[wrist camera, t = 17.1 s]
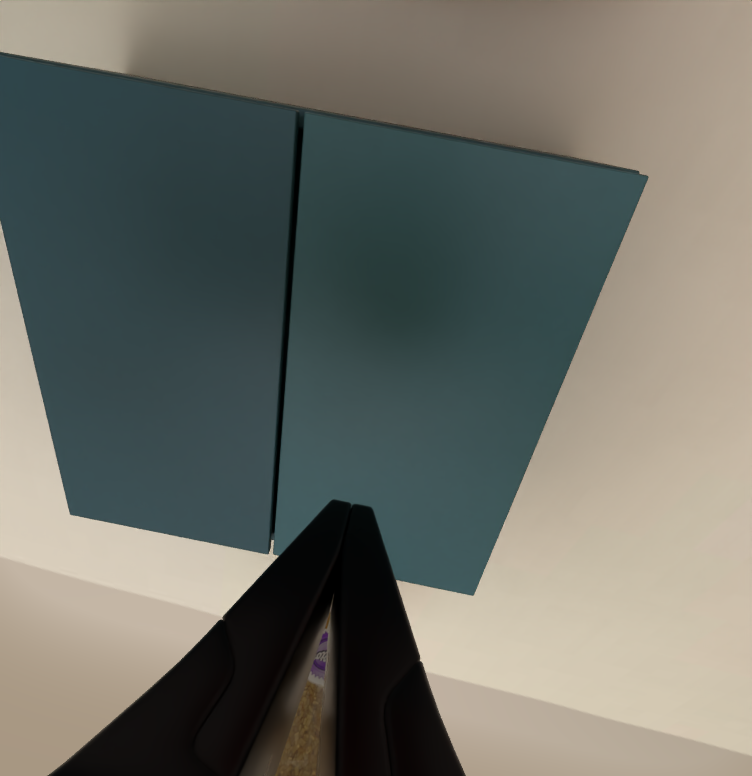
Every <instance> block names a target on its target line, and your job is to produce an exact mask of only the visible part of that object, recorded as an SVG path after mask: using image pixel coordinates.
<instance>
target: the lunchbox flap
mask: <svg viewBox="0 0 752 776" xmlns="http://www.w3.org/2000/svg"><path fill="white" fill-rule="evenodd" d="M647 180H648V176H646V175H641V174H636V173H631V172H625V171H620V170H615V169H609V168H604V167H599V166H593V165H588V164H582V163H577V162H572V161H566V160H561V159H556V158H550V157H545V156H540V155H534V154H529V153H523V152H518V151H513V150H507V149H502V148H497V147H491V146H486V145H481V144H475V143H470V142H464V141H459V140H454V139H448V138H443V137H438V136H432V135H427V134H422V133H416V132H411V131H405V130H400V129H395V128H389V127H384V126H379V125H373V124H368V123H362V122H357V121H352V120H346V119H341V118H336V117H330V116H325V115H320V114H314V113H309V112H305V114H304V128H303V142H302V156H301V170H300V184H299V198H298V212H297V226H296V240H295V254H294V268H293V282H292V296H291V310H290V324H289V338H288V352H287V366H286V380H285V394H284V408H283V422H282V436H281V450H280V464H279V478H278V492H277V506H276V520H275V534H274V548H273V554H274V555H279V556H280V554H281V553H282V552H283V551H284V550H285V549H286V548H287V547H288V546H289V545H290V544H291V543H292V542H293V541H294V539H295V538H296V537H297V536H298V535H299V534H300V533H301V532H302V531H303V530H304V529H305V528H306V527H307V525H308V524H309V523H310V522H311V521H312V520H313V519H314V518H315V517H316V516H317V515H318V514H319V513H320V511H321V510H322V509H323V508H324V507H325V506H326V505H327V504H328V503H329V502H330V501H331V500H333V499H336V500H341V501H346V502H350V503H351V507H352V505H353V504H361V505H366V506H370V507H372V509H373V510H374V513H375V517H376V520H377V523H378V526H379V529H380V532H381V535H382V539H383V542H384V545H385V548H386V551H387V554H388V557H389V560H390V564H391V567H392V570H393V573H394V576H395V579H396V580H399V581H404V582H409V583H414V584H419V585H424V586H428V587H433V588H438V589H443V590H448V591H452V592H457V593H462V594H467V595H472V596H473V595H474V593H475V591H476V589H477V586H478V584H479V581H480V579H481V577H482V574H483V572H484V569H485V567H486V565H487V562H488V560H489V557H490V555H491V553H492V550H493V548H494V545H495V543H496V541H497V538H498V536H499V534H500V531H501V529H502V526H503V524H504V522H505V519H506V517H507V514H508V512H509V510H510V507H511V505H512V502H513V500H514V498H515V495H516V493H517V490H518V488H519V486H520V483H521V481H522V479H523V476H524V474H525V471H526V469H527V467H528V464H529V462H530V459H531V457H532V455H533V452H534V450H535V447H536V445H537V443H538V440H539V438H540V435H541V433H542V431H543V428H544V426H545V424H546V421H547V419H548V416H549V414H550V412H551V409H552V407H553V404H554V402H555V400H556V397H557V395H558V392H559V390H560V388H561V385H562V383H563V380H564V378H565V376H566V373H567V371H568V369H569V366H570V364H571V361H572V359H573V357H574V354H575V352H576V349H577V347H578V345H579V342H580V340H581V337H582V335H583V333H584V330H585V328H586V326H587V323H588V321H589V318H590V316H591V314H592V311H593V309H594V306H595V304H596V302H597V299H598V297H599V294H600V292H601V290H602V287H603V285H604V282H605V280H606V278H607V275H608V273H609V271H610V268H611V266H612V263H613V261H614V259H615V256H616V254H617V251H618V249H619V247H620V244H621V242H622V239H623V237H624V235H625V232H626V230H627V227H628V225H629V223H630V220H631V218H632V216H633V213H634V211H635V208H636V206H637V204H638V201H639V199H640V196H641V194H642V192H643V189H644V187H645V184H646V182H647Z"/></svg>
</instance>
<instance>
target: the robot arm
mask: <svg viewBox="0 0 752 776" xmlns="http://www.w3.org/2000/svg"><path fill="white" fill-rule="evenodd" d="M333 596H334V597H333ZM332 601H333V602H332ZM331 605H332V608H331ZM330 609H331V613H330ZM329 613H330V622H329V631H328V642H327V654H326V665H325V676H324V687H323V698H322V710H321V721H320V732H319V743H318V754H317V766H316V776H466V775H465V773H464V771H463V768H462V766H461V764H460V762H459V759H458V757H457V755H456V752H455V750H454V748H453V745H452V743H451V741H450V738H449V736H448V733H447V731H446V728H445V726H444V724H443V721H442V719H441V716H440V714H439V711H438V708H437V705H436V702H435V699H434V697H433V694H432V691H431V688H430V685H429V682H428V679H427V676H426V673H425V670H424V667H423V663H422V662H421V661H420V655H419V652H418V648H417V645H416V642H415V639H414V636H413V633H412V630H411V626H410V623H409V620H408V617H407V614H406V611H405V608H404V604H403V601H402V598H401V595H400V592H399V589H398V586H397V582H396V579H395V576H394V573H393V570H392V567H391V564H390V560H389V557H388V554H387V551H386V548H385V545H384V542H383V539H382V535H381V532H380V529H379V526H378V523H377V520H376V517H375V513H374V510H373V509H372V507H370V506H366V505H361V504H353V505H352V507H351V503H350V502H346V501H341V500H336V499H333V500H331V501H330V502H329V503H328V504H327V505H326V506H325V507H324V508H323V509H322V510H321V511H320V513H319V514H318V515H317V516H316V517H315V518H314V519H313V520H312V521H311V522H310V523H309V524H308V525H307V527H306V528H305V529H304V530H303V531H302V532H301V533H300V534H299V535H298V536H297V537H296V538H295V539H294V541H293V542H292V543H291V544H290V545H289V546H288V547H287V548H286V549H285V550H284V551H283V552H282V553H281V554H280V556H279V557H278V558H277V559H276V560H275V561H274V562H273V563H272V564H271V565H270V566H269V567H268V568H267V570H266V571H265V572H264V573H263V574H262V575H261V576H260V577H259V578H258V579H257V580H256V581H255V582H254V584H253V585H252V586H251V587H250V588H249V589H248V590H247V591H246V592H245V593H244V594H243V595H242V596H241V598H240V599H239V600H238V601H237V602H236V603H235V604H234V605H233V606H232V607H231V608H230V609H229V610H228V611H227V613H226V614H225V615H224V616H223V620H219V621H218V622H217V623H216V624H215V625H214V626H213V627H212V629H211V630H210V631H209V632H208V633H207V634H206V635H205V636H204V637H203V638H202V639H201V640H200V641H199V642H198V643H197V644H196V645H195V646H194V647H193V648H192V649H191V650H190V651H189V652H188V653H187V654H186V655H185V656H184V658H182V659H181V661H180V662H178V663H177V664H176V665H175V666H174V667H173V668H172V669H171V670H169V671H168V672H167V673H166V674H165V675H164V676H163V677H162V678H161V679H160V680H159V681H157V682H156V683H155V684H154V685H153V686H152V687H151V688H150V689H149V690H147V691H146V692H145V693H144V694H143V695H142V696H141V697H140V698H139V699H137V700H136V701H135V702H134V703H133V704H131V705H130V706H129V707H128V708H127V709H126V710H124V712H122V713H121V714H120V715H119V716H118V717H116V718H115V719H114V720H113V721H112V722H111V723H110V724H108V725H107V726H106V727H105V728H104V729H103V730H102V731H100V732H99V733H98V734H97V735H96V736H95V737H94V738H92V739H91V740H90V741H89V742H88V743H87V744H86V745H84V746H83V747H82V748H81V749H80V750H79V751H77V752H76V753H75V754H74V755H73V756H72V757H71V758H69V759H68V760H67V761H66V762H65V763H63V764H62V765H61V766H60V767H58V768H57V769H56V770H54V771H53V772H52V773H51V774H49V775H48V776H275V774H276V771H277V768H278V766H279V763H280V760H281V757H282V754H283V751H284V748H285V745H286V742H287V739H288V736H289V733H290V730H291V727H292V724H293V721H294V718H295V715H296V712H297V709H298V706H299V703H300V700H301V697H302V694H303V692H304V689H305V686H306V683H307V680H308V677H309V674H310V671H311V668H312V665H313V662H314V659H315V656H316V653H317V650H318V647H319V644H320V641H321V638H322V635H323V632H324V629H325V626H326V623H327V620H328V617H329Z"/></svg>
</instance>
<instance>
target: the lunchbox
mask: <svg viewBox="0 0 752 776" xmlns="http://www.w3.org/2000/svg"><path fill="white" fill-rule="evenodd" d="M305 112H309V113H314V114H320V115H325V116H330V117H336V118H341V119H346V120H352V121H357V122H362V123H368V124H373V125H379V126H384V127H389V128H395V129H400V130H405V131H411V132H416V133H422V134H427V135H432V136H438V137H443V138H448V139H454V140H459V141H464V142H470V143H475V144H481V145H486V146H491V147H497V148H502V149H507V150H513V151H518V152H523V153H529V154H534V155H540V156H545V157H550V158H556V159H561V160H566V161H572V162H577V163H582V164H588V165H593V166H599V167H604V168H609V169H615V170H620V171H625V172H631V173H636V174H639V171H636V170H631V169H627V168H622V167H617V166H612V165H607V164H603V163H598V162H593V161H588V160H583V159H579V158H574V157H568V156H563V155H558V154H552V153H547V152H542V151H536V150H531V149H525V148H520V147H515V146H509V145H504V144H499V143H493V142H488V141H483V140H477V139H472V138H466V137H461V136H456V135H450V134H445V133H440V132H434V131H429V130H423V129H418V128H413V127H407V126H402V125H397V124H391V123H386V122H380V121H375V120H370V119H364V118H359V117H354V116H348V115H343V114H337V113H332V112H327V111H321V110H316V109H311V108H305V107H300V106H294V105H289V104H284V103H278V102H273V101H268V100H262V99H257V98H252V97H246V96H241V95H235V94H230V93H225V92H219V91H214V90H209V89H203V88H198V87H192V86H187V85H182V84H176V83H171V82H166V81H160V80H155V79H149V78H144V77H139V76H133V75H128V74H122V73H117V72H111V71H105V70H100V69H94V68H88V67H83V66H77V65H71V64H66V63H60V62H54V61H49V60H43V59H37V58H32V57H26V56H20V55H15V54H9V53H3V52H0V221H1V225H2V229H3V233H4V238H5V242H6V246H7V250H8V255H9V259H10V263H11V267H12V271H13V276H14V280H15V284H16V288H17V292H18V297H19V301H20V305H21V309H22V314H23V318H24V322H25V326H26V330H27V335H28V339H29V343H30V347H31V352H32V356H33V360H34V364H35V368H36V373H37V377H38V381H39V385H40V390H41V394H42V398H43V402H44V406H45V411H46V415H47V419H48V423H49V428H50V432H51V436H52V440H53V444H54V449H55V453H56V457H57V461H58V466H59V470H60V474H61V478H62V482H63V487H64V491H65V495H66V499H67V503H68V508H69V512H70V515H75V516H79V517H84V518H89V519H94V520H99V521H104V522H109V523H114V524H119V525H124V526H129V527H134V528H139V529H144V530H149V531H154V532H159V533H164V534H169V535H174V536H179V537H184V538H189V539H194V540H199V541H204V542H209V543H213V544H218V545H223V546H228V547H233V548H238V549H243V550H248V551H253V552H258V553H263V554H269V551H270V549H271V540H274V534H275V520H276V506H277V492H278V478H279V464H280V450H281V436H282V422H283V408H284V394H285V380H286V366H287V352H288V338H289V324H290V310H291V296H292V282H293V268H294V254H295V240H296V226H297V212H298V198H299V184H300V170H301V156H302V142H303V128H304V114H305Z"/></svg>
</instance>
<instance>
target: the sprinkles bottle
mask: <svg viewBox="0 0 752 776" xmlns="http://www.w3.org/2000/svg"><path fill="white" fill-rule="evenodd" d="M333 597H334V596H333ZM332 602H333V601H332ZM331 608H332V605H331ZM330 613H331V609H330ZM330 613H329V617H328V620H327V623H326V626H325V629H324V632H323V635H322V638H321V641H320V644H319V647H318V650H317V653H316V656H315V659H314V662H313V665H312V668H311V671H310V674H309V677H308V680H307V683H306V686H305V689H304V692H303V694H302V697H301V700H300V703H299V706H298V709H297V712H296V715H295V718H294V721H293V724H292V727H291V730H290V733H289V736H288V739H287V742H286V745H285V748H284V751H283V754H282V757H281V760H280V763H279V766H278V768H277V771H276V774H275V776H316V766H317V754H318V743H319V732H320V721H321V710H322V698H323V687H324V676H325V665H326V654H327V642H328V631H329V622H330Z"/></svg>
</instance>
